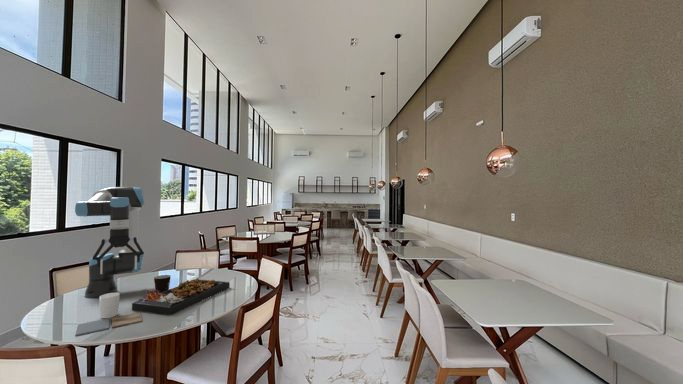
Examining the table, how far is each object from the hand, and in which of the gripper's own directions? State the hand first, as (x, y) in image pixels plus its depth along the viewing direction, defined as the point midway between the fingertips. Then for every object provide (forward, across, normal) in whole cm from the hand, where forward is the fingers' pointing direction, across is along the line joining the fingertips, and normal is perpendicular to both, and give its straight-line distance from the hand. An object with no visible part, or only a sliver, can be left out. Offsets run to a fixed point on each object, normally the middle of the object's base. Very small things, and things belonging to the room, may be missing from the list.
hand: (119, 271), depth 145 cm
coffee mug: (+22, +23, +24) cm, 40 cm away
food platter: (+22, +31, +5) cm, 38 cm away
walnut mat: (+21, +3, -11) cm, 24 cm away
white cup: (+21, -4, +1) cm, 22 cm away
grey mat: (+21, -9, -11) cm, 26 cm away
